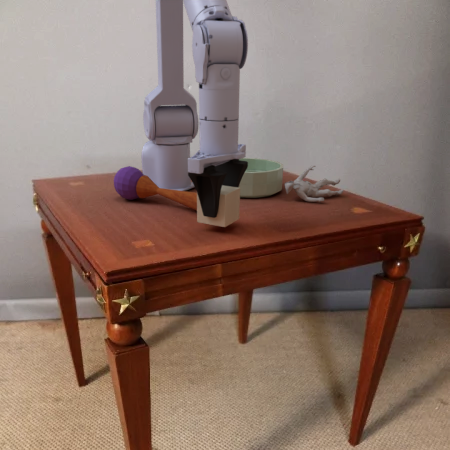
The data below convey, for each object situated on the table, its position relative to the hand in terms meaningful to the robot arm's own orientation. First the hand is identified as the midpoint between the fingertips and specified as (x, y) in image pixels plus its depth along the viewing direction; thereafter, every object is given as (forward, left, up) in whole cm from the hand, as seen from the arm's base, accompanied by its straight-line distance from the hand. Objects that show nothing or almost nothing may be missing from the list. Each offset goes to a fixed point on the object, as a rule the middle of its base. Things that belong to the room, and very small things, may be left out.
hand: (218, 212), depth 78 cm
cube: (0, 0, -1) cm, 1 cm away
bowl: (-7, +25, -3) cm, 26 cm away
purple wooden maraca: (-16, +7, -3) cm, 18 cm away
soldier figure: (+7, +26, -3) cm, 27 cm away
